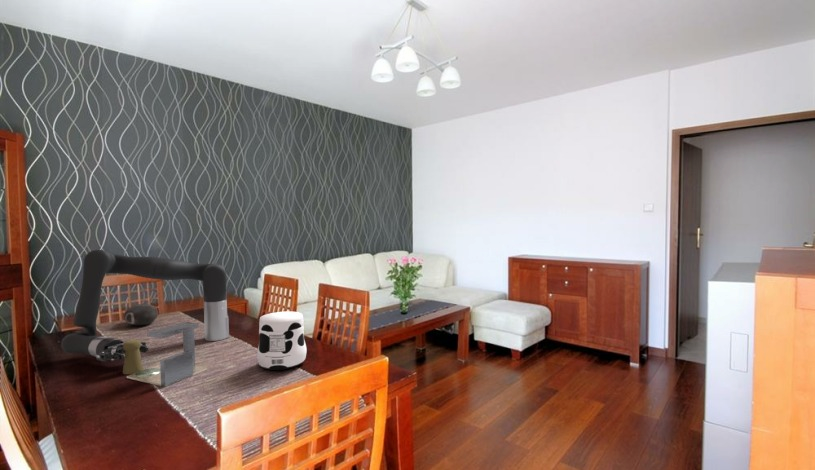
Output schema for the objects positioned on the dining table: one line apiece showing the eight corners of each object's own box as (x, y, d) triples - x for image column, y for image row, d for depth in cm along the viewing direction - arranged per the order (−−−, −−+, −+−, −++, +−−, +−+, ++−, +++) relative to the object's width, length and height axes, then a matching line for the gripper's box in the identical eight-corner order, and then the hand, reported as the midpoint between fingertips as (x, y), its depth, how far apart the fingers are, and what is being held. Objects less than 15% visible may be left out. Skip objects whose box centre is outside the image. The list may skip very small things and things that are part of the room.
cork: (132, 374, 138) (131, 343, 137) (118, 373, 139) (116, 342, 138) (147, 368, 144) (146, 338, 143) (133, 367, 145) (132, 337, 144)
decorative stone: (122, 322, 206) (121, 303, 206) (155, 318, 215) (154, 299, 215) (125, 331, 191) (125, 310, 191) (160, 325, 200) (160, 305, 200)
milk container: (292, 353, 159) (291, 308, 158) (315, 364, 146) (314, 316, 145) (249, 364, 146) (248, 316, 146) (270, 378, 134) (269, 325, 133)
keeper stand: (126, 377, 135) (124, 329, 134) (168, 362, 149) (167, 318, 149) (165, 387, 128) (163, 336, 127) (206, 369, 142) (205, 324, 141)
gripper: (84, 343, 140) (113, 349, 134) (126, 332, 153) (154, 337, 147) (85, 364, 140) (114, 371, 134) (126, 351, 153) (155, 357, 147)
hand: (135, 353), depth 140 cm, fingers open, 8 cm apart
